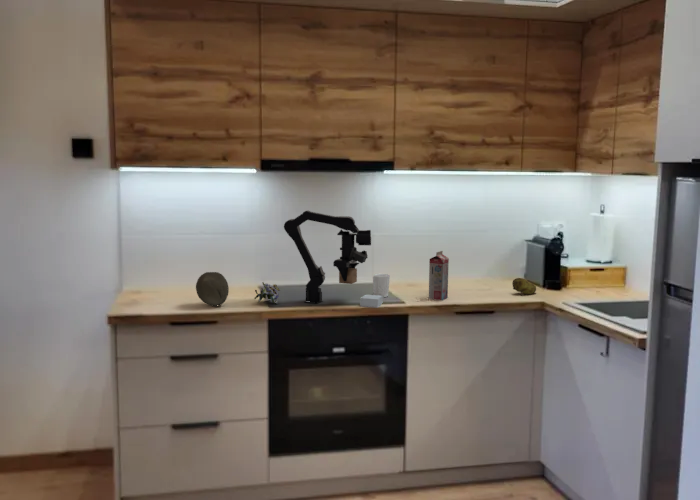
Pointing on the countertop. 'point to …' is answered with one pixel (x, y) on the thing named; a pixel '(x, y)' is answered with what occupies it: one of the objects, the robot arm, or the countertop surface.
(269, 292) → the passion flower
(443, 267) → the juice carton
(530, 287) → the potato
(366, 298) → the riser block
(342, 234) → the robot arm
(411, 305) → the countertop surface
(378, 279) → the white cup
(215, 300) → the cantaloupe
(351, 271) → the walnut cube
